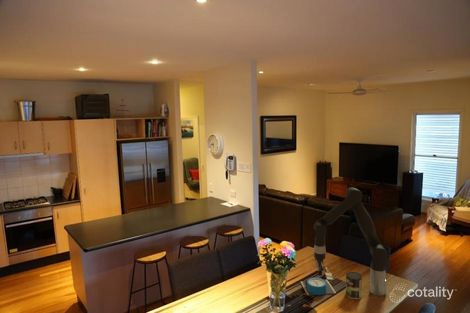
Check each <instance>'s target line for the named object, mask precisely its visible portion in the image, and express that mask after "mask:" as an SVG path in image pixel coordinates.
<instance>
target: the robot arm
mask: <svg viewBox="0 0 470 313" xmlns="http://www.w3.org/2000/svg"><path fill="white" fill-rule="evenodd" d="M362 200H363V193H362V191H361V190H359V189H358V188H356V187H348V188H347V189H346V190H345V198H344V200H343V201H341V202H340V203H339V204H337V205H336V206H334V207H332V209H330V210H329V211H327V212H326V213H325V215H324V216H322V217H321V218H319V219H317V220H316V221H315V222H314V223H313V229H314V231H315V237H314V239H313V240H314V242H313V243H314V246H313V256H314V258H315V259H314V260H315V265H316V268H317V275H318V276H319V277H320V276H321V277H322V275H323V272H324V270H325V267H326V266H325V265H324V262H325V261H324V260H325V259H326V237H327V229H326V228H327V226H328V225H332V224H333V223H335V221H337V220H338V219H339V218H340V217H341V216H342V215H343V214H344V213H346V212H347V211H348V210H349V209H352V211H353V214H354V217H355V219H356V222H357V224H358V227H359V229H360V231H361V233H362V235H363V236H364V238H365V239H366V242H367V245H368V248H369V251H370V254H371V262H370V278H369V279H370V281H369V282H370V286H369V291H370V293H371V294H372V295H373V296H377V297H382V296H385V295H387V280H386V267H387V261H388V253H387V250H386V249H385V247H384V246H383V245H382V243H381V241H380V239H379V237H378V234H377V231H376V227H375V223H374V222H373V219H372V216H371V215H370V213H369V212H368V211H367V209H366V208H365V206H364V205H363V202H362Z"/></svg>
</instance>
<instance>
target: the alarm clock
mask: <svg viewBox="0 0 470 313" xmlns="http://www.w3.org/2000/svg"><path fill="white" fill-rule="evenodd" d="M325 280H326V279H323V278H321V277H315V276H314V277H310V278H307V279H305V280H304V281H305V285H306V286H307V291H308V292H309V293H311V294H314V295H313V296H321V295H322V294H324V293H326V282H325ZM322 296H323V295H322Z"/></svg>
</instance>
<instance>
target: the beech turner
mask: <svg viewBox="0 0 470 313" xmlns="http://www.w3.org/2000/svg"><path fill="white" fill-rule="evenodd" d="M324 270H325V272H324V274H325V278H326V280H328V281H334V277H333V274H332V273H331V272H330V271H329V268H328V267H327V266H325V268H324Z"/></svg>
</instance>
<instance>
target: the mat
mask: <svg viewBox="0 0 470 313" xmlns="http://www.w3.org/2000/svg"><path fill="white" fill-rule="evenodd" d="M324 280H325V282H326V293H324V294H322V296H323V295H336V294H337V292H336V291H335V289H334V288H333V286H332V285H331V283H330V282H329V280H327V279H324ZM300 285H301V286H302V288H303V290H304V292H305V294H306V296H307V297H309V296H315V295H314V294H311V293H309V292H308V291H307V286H306V285H305V280H304V281H303V280H302V281H300Z"/></svg>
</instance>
